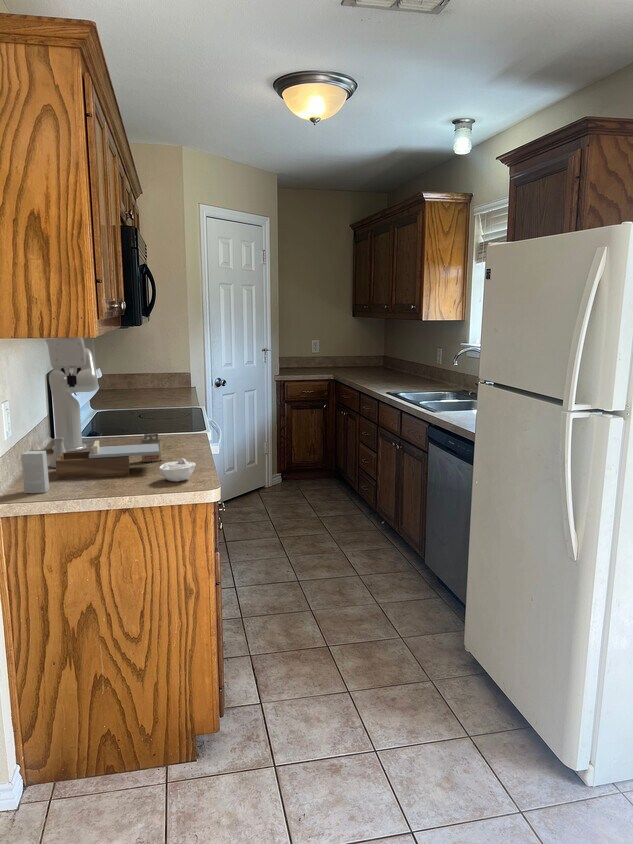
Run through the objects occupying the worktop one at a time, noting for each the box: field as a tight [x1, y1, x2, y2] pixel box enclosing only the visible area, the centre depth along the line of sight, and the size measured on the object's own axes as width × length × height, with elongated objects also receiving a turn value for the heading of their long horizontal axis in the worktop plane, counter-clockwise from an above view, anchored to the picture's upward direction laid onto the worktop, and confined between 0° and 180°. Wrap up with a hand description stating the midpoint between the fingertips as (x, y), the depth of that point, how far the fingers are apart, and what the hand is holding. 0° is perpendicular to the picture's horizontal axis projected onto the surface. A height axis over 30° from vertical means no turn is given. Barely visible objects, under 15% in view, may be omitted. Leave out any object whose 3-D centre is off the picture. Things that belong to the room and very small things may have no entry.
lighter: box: [140, 432, 163, 463], centre depth 223 cm, size 7×4×10 cm, turn 106°
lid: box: [89, 440, 159, 458], centre depth 208 cm, size 13×22×4 cm, turn 106°
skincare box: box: [20, 450, 50, 494], centre depth 183 cm, size 6×4×12 cm
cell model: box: [158, 457, 196, 482], centre depth 196 cm, size 10×12×7 cm
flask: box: [49, 437, 66, 469], centre depth 215 cm, size 7×7×10 cm
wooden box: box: [55, 450, 130, 480], centre depth 206 cm, size 13×22×6 cm, turn 106°
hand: (72, 386), depth 217 cm, fingers closed
